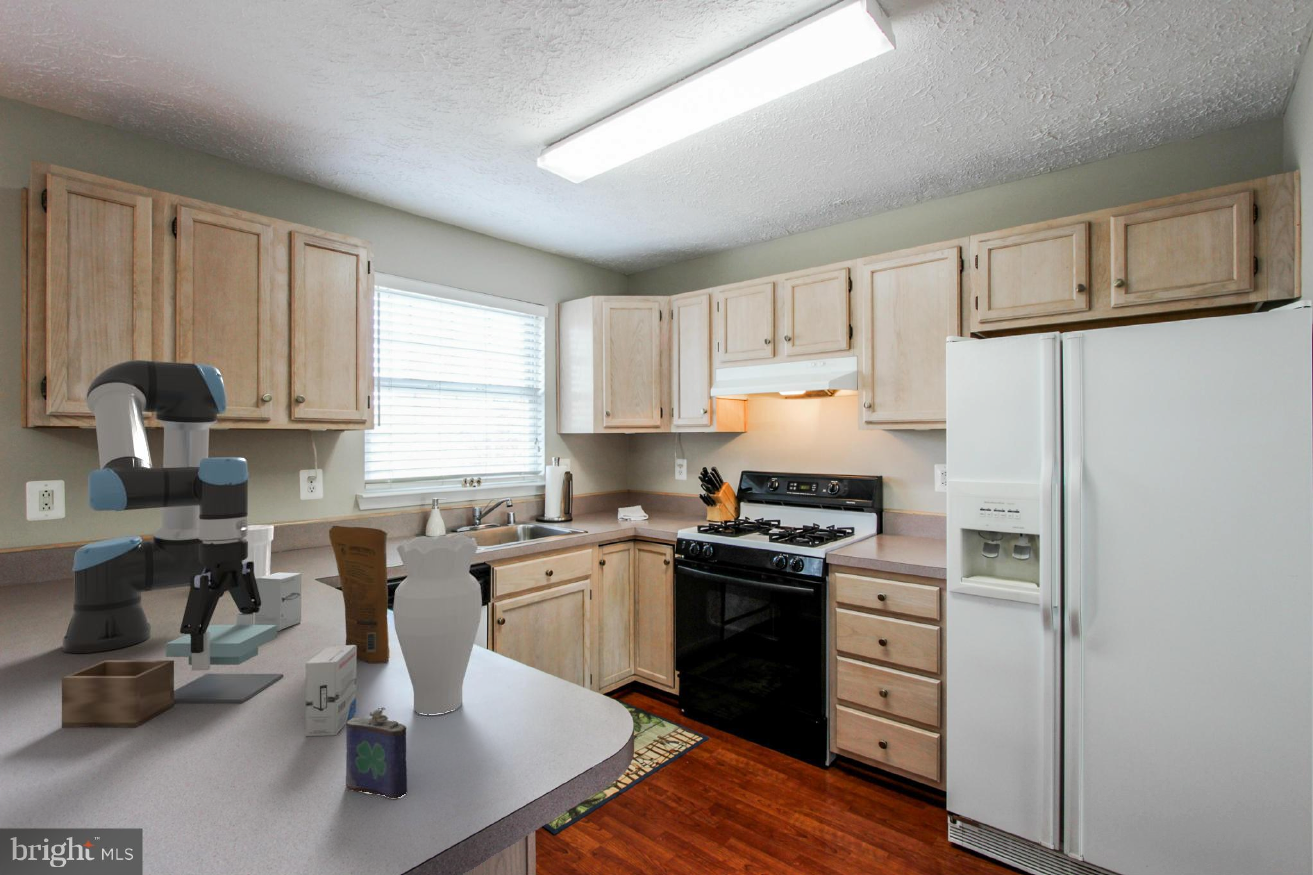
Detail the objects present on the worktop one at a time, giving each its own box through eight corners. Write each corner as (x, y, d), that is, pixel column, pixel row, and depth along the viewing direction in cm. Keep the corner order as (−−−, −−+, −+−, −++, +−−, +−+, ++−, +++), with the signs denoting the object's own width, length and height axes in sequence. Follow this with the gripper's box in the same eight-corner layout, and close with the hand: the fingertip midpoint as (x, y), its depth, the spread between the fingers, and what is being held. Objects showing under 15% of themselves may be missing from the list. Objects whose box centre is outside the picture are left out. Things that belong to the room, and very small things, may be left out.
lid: (166, 670, 111) (166, 643, 111) (210, 649, 122) (210, 624, 122) (239, 670, 111) (239, 643, 111) (276, 649, 122) (276, 624, 122)
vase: (414, 688, 117) (414, 533, 117) (492, 689, 117) (492, 533, 117) (376, 724, 103) (377, 547, 103) (465, 726, 102) (466, 547, 102)
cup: (280, 579, 207) (280, 526, 207) (242, 586, 197) (243, 530, 197) (262, 575, 213) (263, 523, 213) (225, 581, 203) (225, 527, 203)
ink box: (327, 713, 107) (327, 644, 107) (357, 712, 107) (357, 643, 107) (303, 737, 98) (303, 662, 98) (336, 736, 99) (336, 661, 99)
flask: (341, 789, 84) (341, 709, 84) (357, 778, 87) (358, 700, 87) (398, 802, 81) (398, 719, 81) (413, 790, 84) (414, 709, 84)
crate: (61, 727, 102) (61, 677, 102) (105, 705, 110) (105, 660, 110) (135, 727, 102) (135, 678, 102) (173, 706, 110) (174, 660, 110)
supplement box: (279, 631, 152) (279, 579, 152) (253, 629, 153) (253, 577, 153) (302, 622, 159) (302, 572, 159) (277, 620, 160) (277, 571, 160)
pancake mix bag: (371, 670, 127) (371, 531, 126) (325, 651, 138) (325, 523, 138) (402, 660, 132) (402, 527, 132) (355, 642, 143) (355, 520, 143)
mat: (157, 702, 111) (157, 699, 111) (206, 676, 123) (206, 673, 123) (242, 702, 111) (242, 699, 111) (283, 676, 123) (283, 673, 123)
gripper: (197, 551, 105) (197, 682, 105) (281, 530, 129) (281, 638, 129) (153, 551, 105) (153, 682, 105) (245, 530, 129) (245, 638, 129)
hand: (223, 658), depth 117 cm, fingers closed on lid, 11 cm apart
